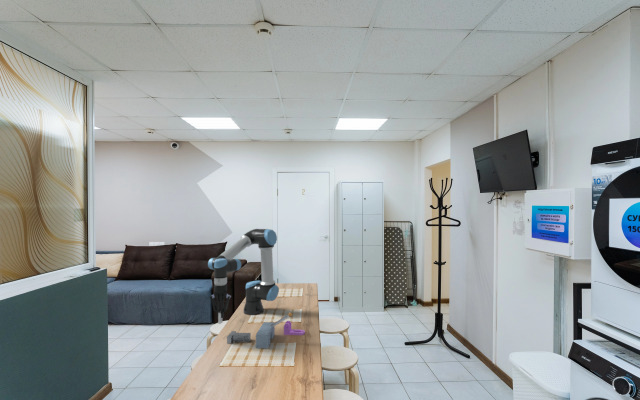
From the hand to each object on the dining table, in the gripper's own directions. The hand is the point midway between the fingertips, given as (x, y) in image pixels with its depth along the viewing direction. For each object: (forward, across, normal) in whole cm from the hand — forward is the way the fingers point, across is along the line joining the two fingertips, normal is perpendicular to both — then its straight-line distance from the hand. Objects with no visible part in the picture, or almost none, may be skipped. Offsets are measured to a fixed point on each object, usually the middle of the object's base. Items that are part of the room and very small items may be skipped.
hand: (220, 322), depth 184 cm
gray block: (+11, +12, +1) cm, 16 cm away
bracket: (+11, +44, +13) cm, 47 cm away
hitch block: (+10, +28, 0) cm, 30 cm away
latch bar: (-1, +39, 0) cm, 39 cm away
